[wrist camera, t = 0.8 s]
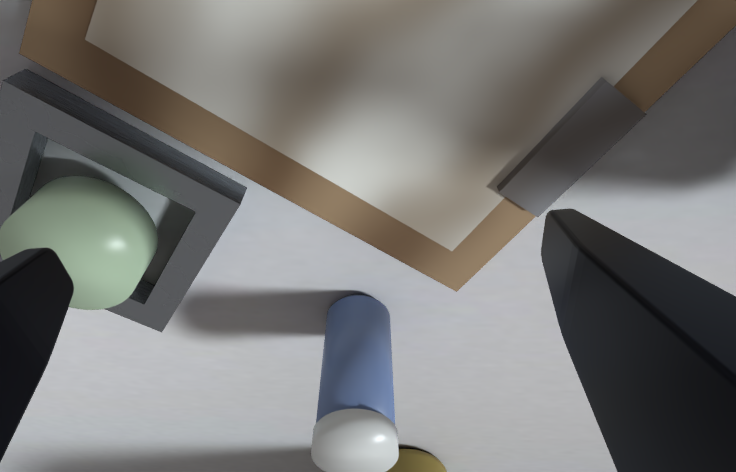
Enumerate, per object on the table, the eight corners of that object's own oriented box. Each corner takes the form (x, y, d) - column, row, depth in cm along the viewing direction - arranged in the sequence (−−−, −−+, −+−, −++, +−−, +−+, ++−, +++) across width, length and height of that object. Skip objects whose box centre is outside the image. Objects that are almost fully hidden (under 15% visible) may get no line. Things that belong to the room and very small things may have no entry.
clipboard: (770, -26, 18) (797, -20, 17) (454, 281, 27) (458, 299, 25) (212, -653, 11) (194, -717, 10) (30, 47, 19) (9, 57, 18)
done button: (175, 215, 22) (156, 248, 20) (135, 290, 25) (114, 326, 23) (48, 153, 20) (13, 182, 18) (20, 241, 23) (-14, 275, 21)
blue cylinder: (404, 307, 28) (416, 449, 21) (367, 345, 30) (366, 486, 23) (348, 278, 26) (341, 419, 20) (313, 320, 28) (294, 461, 21)
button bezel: (247, 187, 23) (240, 204, 22) (170, 312, 28) (161, 332, 27) (25, 68, 20) (3, 80, 19) (-18, 233, 25) (-38, 251, 24)
